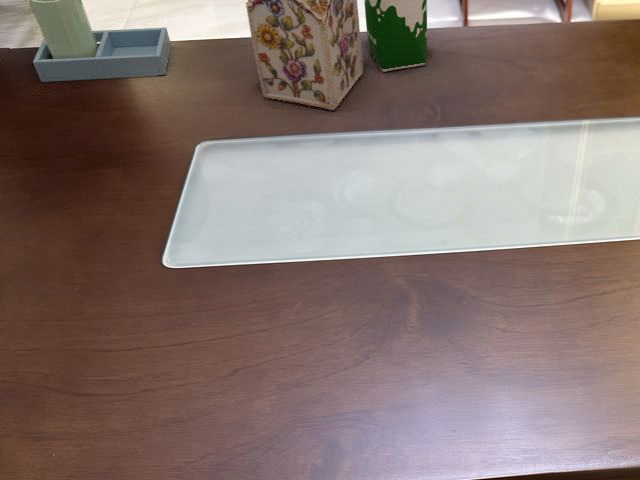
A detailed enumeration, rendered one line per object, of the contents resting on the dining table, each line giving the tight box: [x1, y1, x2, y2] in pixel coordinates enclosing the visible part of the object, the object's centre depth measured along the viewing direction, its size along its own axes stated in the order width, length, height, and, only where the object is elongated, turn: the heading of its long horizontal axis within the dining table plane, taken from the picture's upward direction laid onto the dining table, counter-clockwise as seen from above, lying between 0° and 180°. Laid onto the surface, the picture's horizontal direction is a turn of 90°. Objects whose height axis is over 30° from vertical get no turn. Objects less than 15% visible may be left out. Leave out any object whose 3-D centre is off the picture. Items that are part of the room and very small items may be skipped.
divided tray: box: [32, 27, 173, 83], centre depth 110 cm, size 18×9×3 cm, turn 99°
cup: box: [27, 0, 99, 59], centre depth 106 cm, size 7×7×10 cm
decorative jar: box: [245, 0, 364, 109], centre depth 101 cm, size 12×12×18 cm
